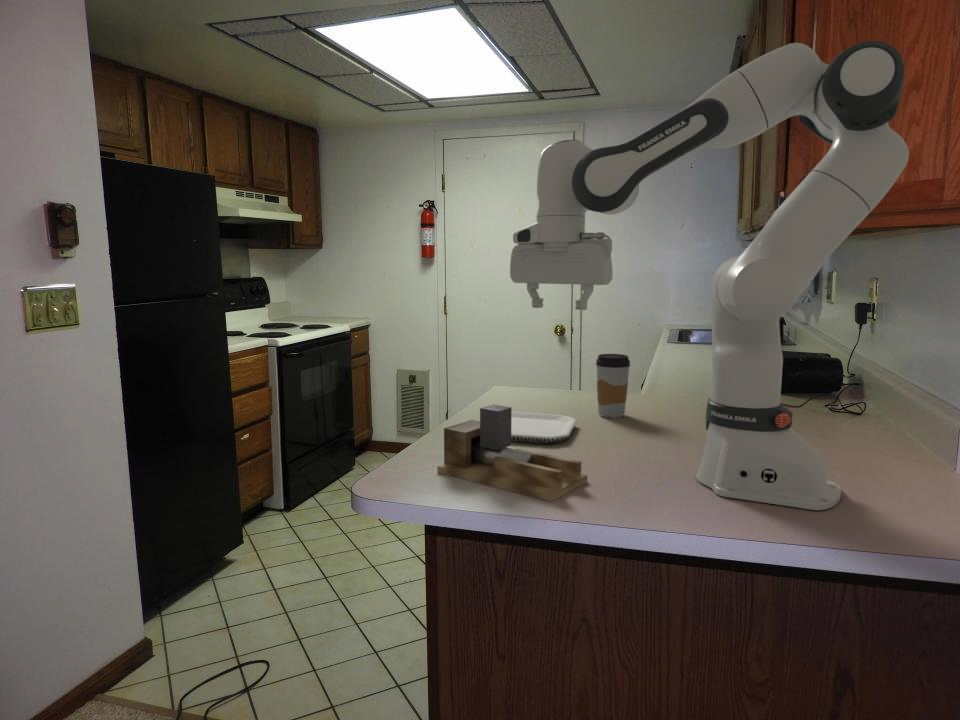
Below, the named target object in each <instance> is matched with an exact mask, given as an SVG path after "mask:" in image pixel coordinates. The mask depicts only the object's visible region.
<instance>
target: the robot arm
mask: <svg viewBox="0 0 960 720" xmlns="http://www.w3.org/2000/svg"><path fill="white" fill-rule="evenodd" d="M905 71H906V70H905V62H904V59H903V57H902V55H901V53H900V52H899V51H898V50H897V48H895V47H894V46H892V44H890V43H888V42H887V43H886V42H883V41H880V40H879V41H878V40H866V41H863V42H862V41H861V42H858V43H855V44H852V45H851V46H850V47H847V48H846V49H845V50H843V51H842V52H840V53H839V54H838V55H836V57H835V58H834V59H832V61H831V62H830V64H828V63H825V62H824V61H823V60H821V59H820V57H819V55H818V54H817V53H816V51H815V50H814V49H812V48H811V47H810V46H808V45H807V44H804V43H800V42H793V43H788V44H786V45H783V46H781V47H778V48H776V49H774V50H772V51H769V52H767V53H765V54H763V55H761V56H759V57H757V58H755V59H753V60H752V61H750V62H748V63H746V64H744V65H742V66H741V67H739V68H738V69H736V70H734V71H733V72H731V73H729V74H728V75H726V76H725V77H723V78H722V79H721V80H720V81H718V82H717V83H715V84H713V86H712V85H711V87H710V88H708V90H706V91H705V92H704V93H702V94H701V95H700V96H699V97H698V98H696V99H695V100H694V101H692V102H691V103H690V104H689V105H687V106H686V107H684V109H682V110H681V111H679V112H678V113H676V114H674V115H672V116H671V117H669V118H668V119H666V120H665V121H662V122H661V123H659V124H657V125H656V126H654V127H652V128H651V129H649V130H647V131H645V132H643V133H641V134H640V135H639V136H637V137H635V138H633V139H632V140H629V141H627V142H624V143H622V144H618V145H613V146H606V147H605V146H604V147H600V148H596V149H592V148H591V147H589V146H587V145H586V144H585V143H584V142H582V141H581V140H579V139H567V140H560V141H556V142H553V143H551V144H549V145H548V146H546V147H545V148H543V150H542V152H541V154H540V155H539V156H540V157H539V161H538V167H537V177H536V178H537V180H536V194H537V199H538V209H537V212H536V222H535V223H533V224H530V225H529V226H526V227H525V228H522V229H519V230H517V231H515V232H514V233H513V235H512V242H513V244H516V245H514V247H513V248H512V250H511V254H510V263H509V266H510V267H509V276H510V279H511V280H512V282H513V283H514V284H526V291H527V292H528V295H529V297H530V299H531V307H532V308H533V309H534V308H536V309H538V308H539V309H542V308H543V307H544V298H543V297H540V295H539V293H538V291H537V290H539V289H540V287H539V286H540V284H542V285H544V284H546V285H547V284H549V285H555V284H556V285H580V292H582V294H581V297H580V298H579V299H576V300H575V310H576V311H586V310H588V300H590V297H591V296H592V294H593V292H594V287H595V286H606V285H609V284H610V283H611V282H612V280H613V277H614V276H613V263H612V262H613V261H612V260H613V259H612V255H611V254H612V251H613V241H612V239H611V237H610V236H609V235H607V234H605V232H586V231H585V226H586V213H587V212H588V211H592V212H595V213H600V214H604V215H612V216H613V215H616V214H617V215H618V214H620V213H623V212H624V211H626V210H628V209H629V208H630V207H631V206H632V205H633V204H634V203H635V201H636V200H637V196H638V194H639V191H640V190H639V189H640V186H639V185H640V183H642V181H644V180H645V179H646V178H648V177H649V176H651V175H653V174H655V173H656V172H658V171H660V170H661V169H663V168H665V167H667V166H669V165H671V164H672V163H674V162H676V161H677V160H679V159H681V158H683V157H685V156H687V155H688V154H691V153H693V152H697V151H699V150H703V149H704V150H705V149H718V150H727V149H730V148H733V147H735V146H737V145H741V144H743V143H745V142H748V141H750V140H752V139H754V138H755V137H758V136H760V135H762V134H763V133H765V132H766V131H768V130H770V129H771V128H773V127H774V126H776V125H779V124H780V123H781V122H783V121H785V120H787V119H789V118H791V117H795V116H797V117H798V120H799V122H801V123H802V124H803V125H804V126H806V127H807V128H808V129H810V131H812V133H814V134H815V135H816V136H817V138H819V139H821V141H824V143H827V144H830V145H831V146H830V149H829V150H828V151H827V152H826V154H825V155H824V156H823V157H822V159H821V160H820V161H819V162H818V163H817V164H816V165H815V166H814V167H813V169H812V170H811V171H810V172H809V173H808V174H807V175H806V176H805V177H804V179H803V180H802V181H800V183H799V184H798V185H797V186H796V187H795V188H794V190H792V192H791V193H790V194H789V196H787V197H786V198H785V200H784V201H783V202H782V203H781V204H780V205H779V207H778V208H777V209H776V210H775V211H774V212H773V213H772V215H771V217H770V218H769V220H768V221H767V222H766V224H765V225H764V226H763V228H761V230H760V231H759V233H758V234H757V235H756V236H755V238H754V239H753V240H752V242H751V243H750V244H749V245H748V246H747V248H745V250H744V251H743V252H742V253H741V254H740V255H736V256H734V257H731V258H729V259H728V260H726V261H725V262H723V263H722V264H721V265H720V266H719V267H718V268H717V270H716V271H715V273H714V275H713V278H712V281H711V282H712V283H711V343H712V344H711V346H712V347H711V348H712V355H711V356H712V358H711V360H712V361H711V379H710V394H709V396H710V397H709V398H708V399H707V405H706V409H705V410H706V411H705V429H706V431H707V432H706V438H705V444H704V448H703V452H702V453H703V454H702V457H701V460H700V464H699V466H698V470H697V472H696V475H695V478H696V480H698V482H699V483H701V484H702V485H704V486H706V487H708V488H710V489H712V491H714V493H715V494H716V495H718V496H720V497H726V498H732V499H739V500H743V501H752V502H757V503H766V504H769V505H770V504H773V505H778V506H783V507H784V506H786V507H790V508H798V509H804V510H811V511H823V510H824V511H825V510H828V509H830V508H833V507H835V506H836V505H837V504H839V502H840V500H841V498H842V489H841V487H840V485H839V484H838V483H836V482H834V481H832V480H828V475H827V474H828V473H827V465H826V462H825V459H824V457H823V454H822V453H821V452H820V451H819V450H818V449H816V447H814V446H812V445H811V444H810V443H809V442H808V441H807V440H806V439H804V438H803V437H802V436H801V434H798V432H796V431H795V430H794V429H793V428H792V425H793V416H794V414H793V413H794V409H793V408H791V409H788V408H787V407H786V406H784V405H783V404H782V403H781V395H782V394H781V392H782V381H783V380H782V379H783V378H782V377H783V365H784V356H783V355H784V354H783V352H782V351H783V350H782V343H781V331H780V330H781V329H780V328H781V327H780V319H781V318H782V317H784V316H785V315H787V314H788V313H789V311H791V310H792V308H793V307H794V305H795V304H796V302H797V300H798V299H799V297H800V296H801V295H802V294H803V293H804V291H805V290H806V289H807V288H808V287H809V285H810V284H811V282H812V281H813V279H815V277H816V276H817V274H818V272H819V271H820V270H821V269H822V267H823V266H824V264H825V263H826V262H827V261H828V259H829V258H830V257H831V255H832V254H833V253H834V251H836V250H837V248H838V247H839V246H840V245H841V244H842V243H844V242H845V240H846V239H847V238H848V237H849V236H850V235H851V234H852V233H853V231H854V230H855V229H856V228H857V227H858V226H859V225H860V224H861V223H862V222H863V221H864V219H865V218H867V217H868V216H869V214H871V212H872V211H873V210H874V209H875V208H876V207H877V206H878V204H880V202H881V201H882V200H883V199H884V197H885V196H886V195H887V193H888V192H889V191H890V190H891V188H892V187H893V186H894V184H895V183H896V181H897V180H898V178H899V177H900V176H901V174H902V173H903V171H904V169H905V167H906V166H907V164H908V162H909V157H910V151H909V148H908V145H907V143H906V141H905V140H904V139H903V137H902V136H901V135H900V134H898V133H897V132H896V131H895V130H893V129H892V128H891V127H890V124H889V122H891V120H893V119H894V118H896V116H897V113H898V108H899V104H900V101H901V95H902V92H903V88H904V84H905V74H906V73H905Z"/></svg>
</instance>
